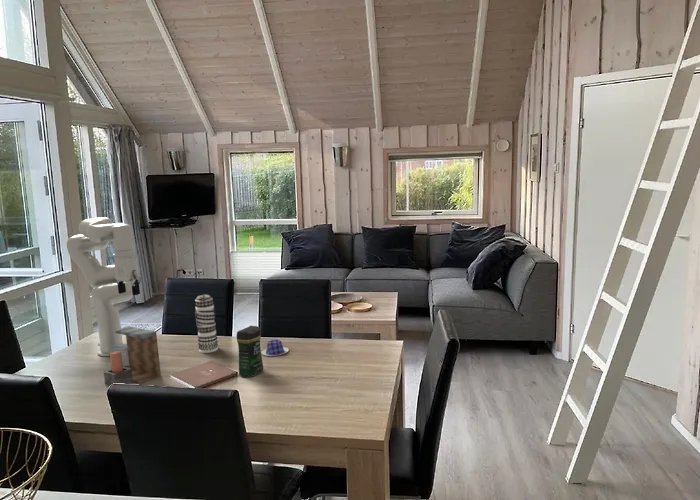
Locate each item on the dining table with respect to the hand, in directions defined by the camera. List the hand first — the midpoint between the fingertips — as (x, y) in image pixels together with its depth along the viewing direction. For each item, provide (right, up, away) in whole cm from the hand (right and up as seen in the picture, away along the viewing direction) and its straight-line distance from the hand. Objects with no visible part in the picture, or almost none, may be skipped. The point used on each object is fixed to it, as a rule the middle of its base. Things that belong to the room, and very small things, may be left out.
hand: (129, 293), depth 232 cm
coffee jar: (+55, -30, -15) cm, 64 cm away
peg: (+3, -33, -18) cm, 38 cm away
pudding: (+61, -27, +9) cm, 67 cm away
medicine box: (-3, -31, +3) cm, 31 cm away
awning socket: (+6, -32, -14) cm, 36 cm away
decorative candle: (+29, -27, +17) cm, 43 cm away
